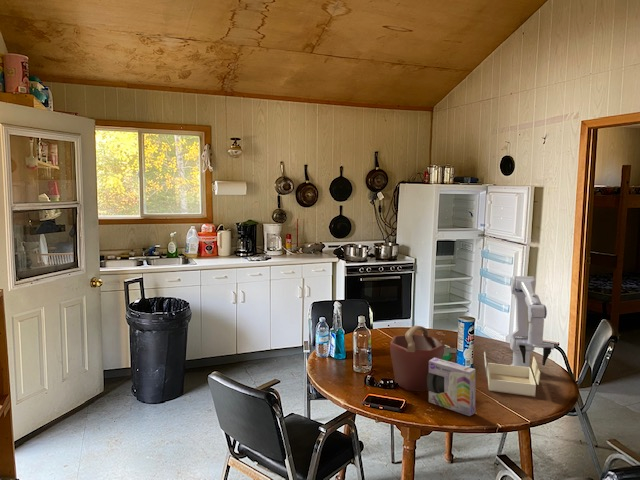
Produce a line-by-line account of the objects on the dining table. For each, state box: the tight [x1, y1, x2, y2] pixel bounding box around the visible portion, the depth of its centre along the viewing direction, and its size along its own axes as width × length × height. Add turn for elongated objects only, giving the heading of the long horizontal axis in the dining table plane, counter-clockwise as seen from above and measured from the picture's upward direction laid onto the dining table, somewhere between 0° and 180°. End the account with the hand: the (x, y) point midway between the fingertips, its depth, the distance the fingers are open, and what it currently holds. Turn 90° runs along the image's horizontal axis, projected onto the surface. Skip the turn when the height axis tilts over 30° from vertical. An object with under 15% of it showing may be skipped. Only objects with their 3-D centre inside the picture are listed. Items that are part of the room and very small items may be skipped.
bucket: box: [389, 325, 445, 392], centre depth 213 cm, size 24×22×25 cm
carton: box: [487, 362, 537, 397], centre depth 214 cm, size 20×18×5 cm
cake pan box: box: [427, 358, 477, 417], centre depth 191 cm, size 19×5×18 cm, turn 45°
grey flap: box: [483, 351, 488, 380], centre depth 216 cm, size 20×5×1 cm
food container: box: [439, 340, 458, 363], centre depth 235 cm, size 12×6×10 cm, turn 21°
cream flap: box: [531, 356, 541, 386], centre depth 211 cm, size 20×5×1 cm
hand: (533, 363), depth 211 cm, fingers open, 7 cm apart
